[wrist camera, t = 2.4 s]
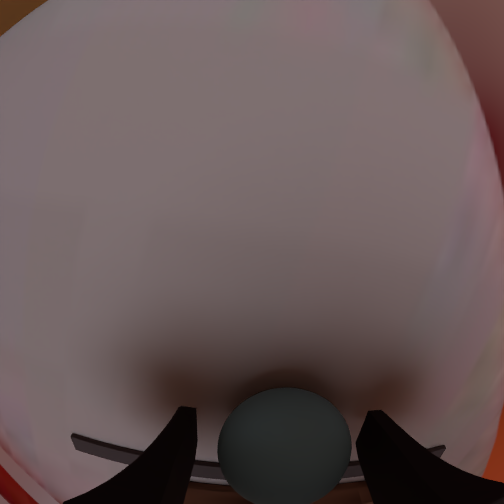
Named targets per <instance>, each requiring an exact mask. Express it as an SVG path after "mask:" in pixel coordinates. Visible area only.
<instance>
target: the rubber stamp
mask: <svg viewBox="0 0 504 504" xmlns="http://www.w3.org/2000/svg"><path fill="white" fill-rule="evenodd" d="M46 1H47V0H0V36H1V35H3V34H4V33H5V32H6V31H7V30H9V29H10V28H11V27H12V26H13V25H15V24H16V23H17V22H19V21H20V20H21V19H22V18H24V17H25V16H26V15H28V14H29V13H30V12H32V11H33V10H34V9H36V8H37V7H39V6H40V5H42V4H43V3H44V2H46Z"/></svg>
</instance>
